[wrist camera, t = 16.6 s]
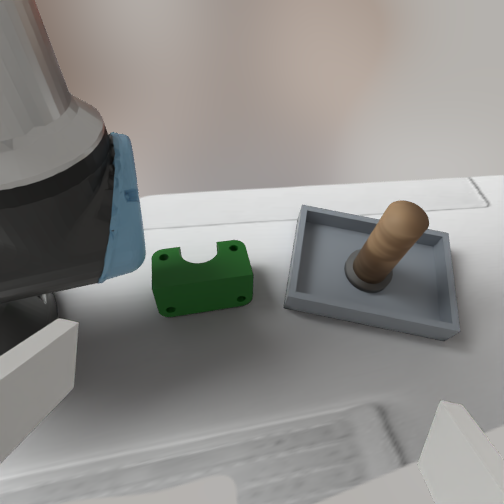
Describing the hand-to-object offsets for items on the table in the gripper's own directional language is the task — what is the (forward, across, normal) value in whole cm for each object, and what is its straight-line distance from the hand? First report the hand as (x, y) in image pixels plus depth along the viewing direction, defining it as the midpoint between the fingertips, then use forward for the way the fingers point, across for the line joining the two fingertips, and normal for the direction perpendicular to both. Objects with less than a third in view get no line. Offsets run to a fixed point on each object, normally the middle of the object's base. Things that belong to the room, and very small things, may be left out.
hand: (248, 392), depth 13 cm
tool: (+35, +13, -3) cm, 37 cm away
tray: (+36, +13, -4) cm, 38 cm away
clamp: (+31, -7, -8) cm, 33 cm away
